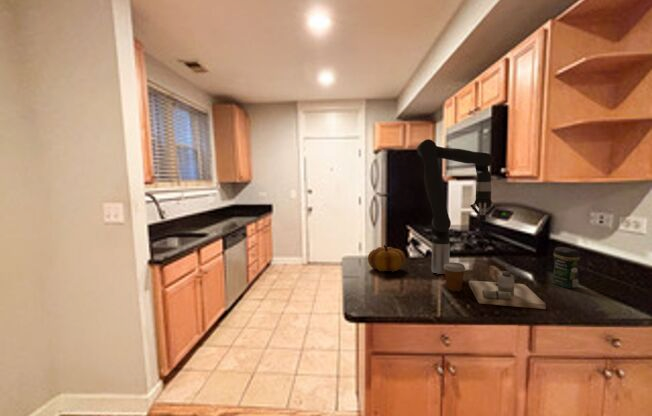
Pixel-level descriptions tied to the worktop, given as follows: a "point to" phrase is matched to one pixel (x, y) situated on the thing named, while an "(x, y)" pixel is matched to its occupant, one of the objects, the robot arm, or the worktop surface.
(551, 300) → the worktop surface
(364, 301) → the worktop surface
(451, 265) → the disposable coffee cup
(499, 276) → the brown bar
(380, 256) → the decorative pumpkin
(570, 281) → the coffee jar
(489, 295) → the level stand
